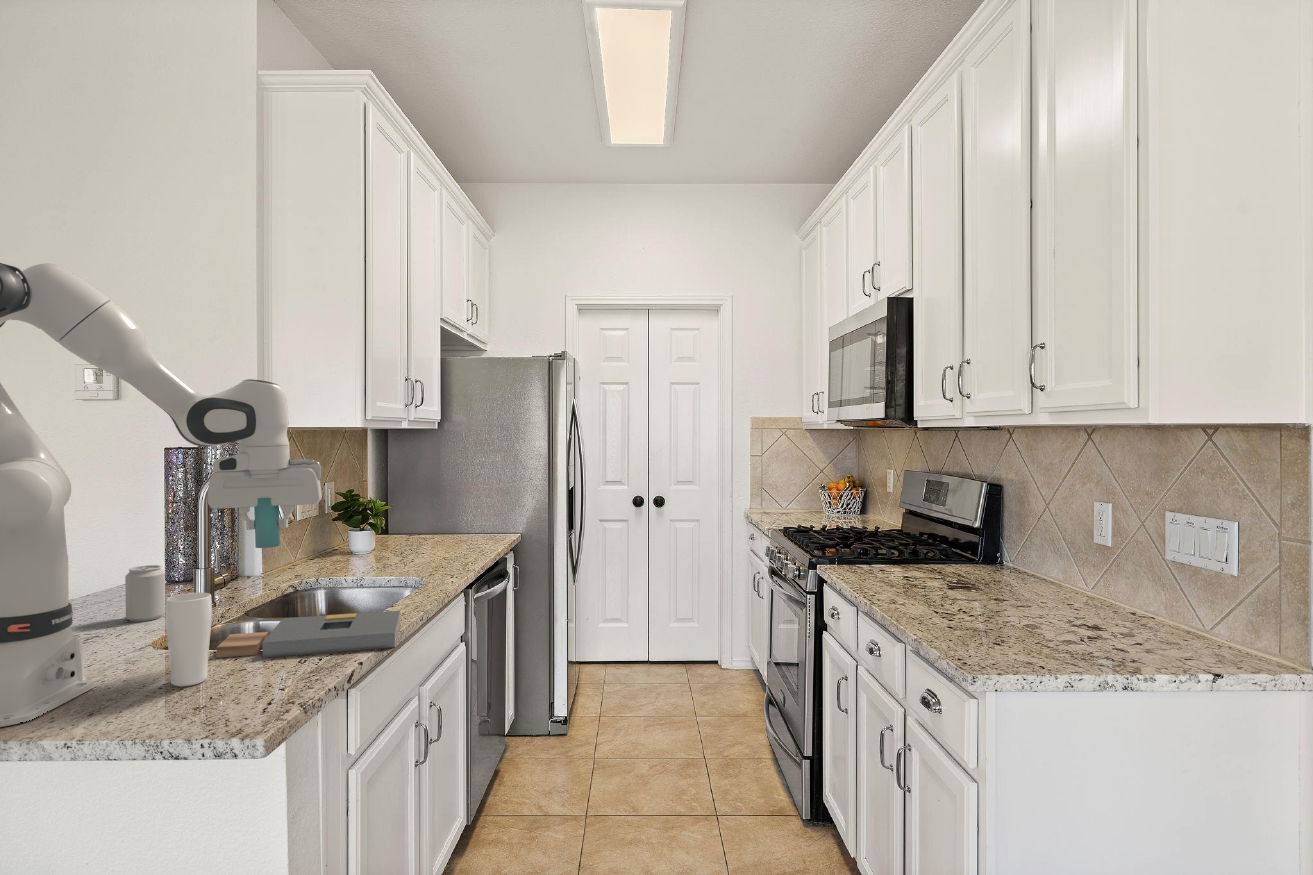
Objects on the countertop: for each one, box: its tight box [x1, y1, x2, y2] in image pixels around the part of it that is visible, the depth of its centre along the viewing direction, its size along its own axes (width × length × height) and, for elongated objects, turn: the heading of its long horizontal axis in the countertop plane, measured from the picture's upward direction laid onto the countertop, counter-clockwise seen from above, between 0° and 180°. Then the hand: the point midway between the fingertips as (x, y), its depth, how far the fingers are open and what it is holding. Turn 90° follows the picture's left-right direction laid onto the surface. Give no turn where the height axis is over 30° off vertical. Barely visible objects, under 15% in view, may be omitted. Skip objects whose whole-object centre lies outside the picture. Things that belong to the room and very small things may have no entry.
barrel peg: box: [253, 498, 281, 549], centre depth 144 cm, size 4×4×10 cm
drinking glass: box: [164, 592, 213, 688], centre depth 124 cm, size 7×7×15 cm
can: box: [124, 564, 166, 623], centre depth 165 cm, size 8×8×12 cm
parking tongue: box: [216, 631, 269, 659], centre depth 143 cm, size 9×7×2 cm
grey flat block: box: [262, 610, 401, 659], centre depth 149 cm, size 18×24×3 cm
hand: (267, 528), depth 144 cm, fingers closed on barrel peg, 4 cm apart
